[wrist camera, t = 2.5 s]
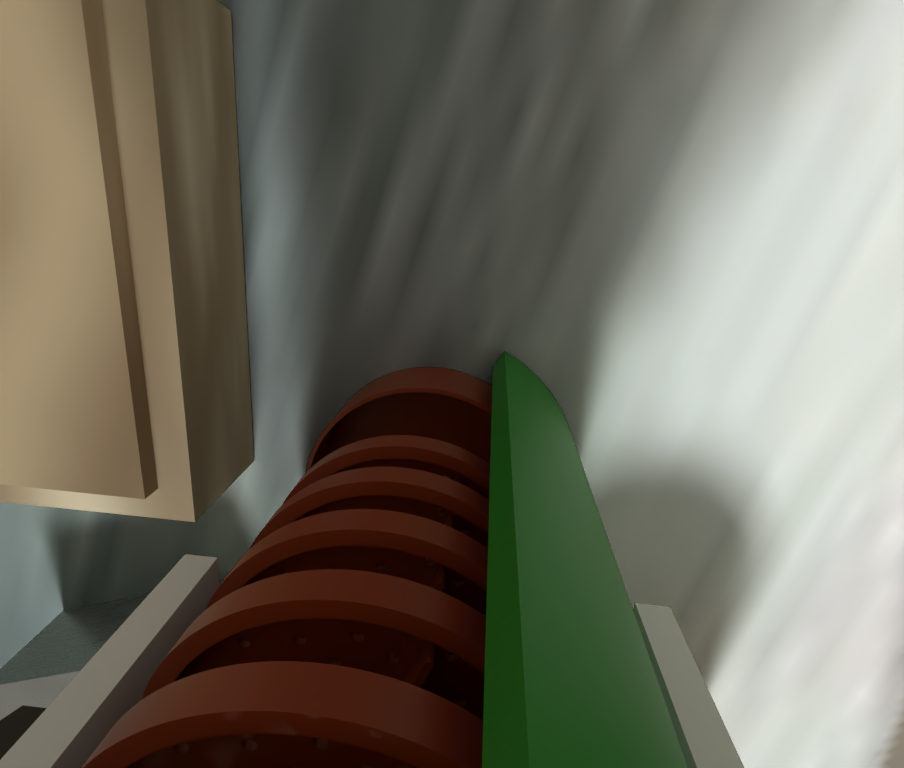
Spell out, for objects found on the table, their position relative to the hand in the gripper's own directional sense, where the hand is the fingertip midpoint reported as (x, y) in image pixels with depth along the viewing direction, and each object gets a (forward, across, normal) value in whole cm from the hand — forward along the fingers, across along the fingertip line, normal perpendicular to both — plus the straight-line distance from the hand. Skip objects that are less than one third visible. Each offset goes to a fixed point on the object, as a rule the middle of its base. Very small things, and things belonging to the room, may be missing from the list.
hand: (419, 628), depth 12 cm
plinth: (+7, -14, +7) cm, 17 cm away
